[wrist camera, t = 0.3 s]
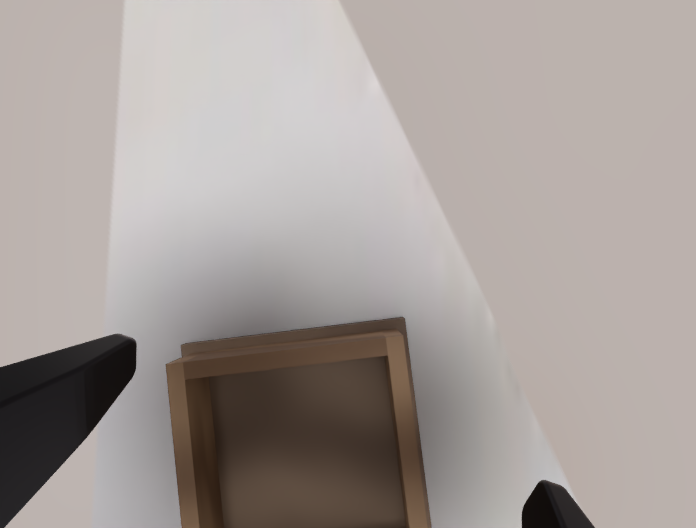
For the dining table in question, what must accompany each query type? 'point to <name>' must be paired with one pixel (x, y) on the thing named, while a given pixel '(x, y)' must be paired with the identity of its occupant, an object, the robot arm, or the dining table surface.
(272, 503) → the walnut socket
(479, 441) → the dining table surface
